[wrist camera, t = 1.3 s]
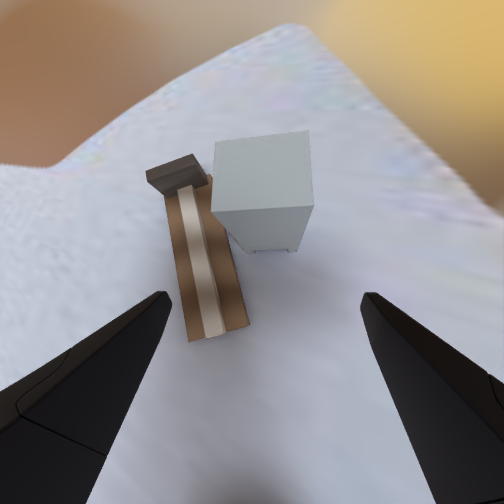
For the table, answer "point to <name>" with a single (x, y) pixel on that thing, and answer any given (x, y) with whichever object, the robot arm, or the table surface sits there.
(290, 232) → the block
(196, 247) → the rail board
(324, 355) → the table surface
